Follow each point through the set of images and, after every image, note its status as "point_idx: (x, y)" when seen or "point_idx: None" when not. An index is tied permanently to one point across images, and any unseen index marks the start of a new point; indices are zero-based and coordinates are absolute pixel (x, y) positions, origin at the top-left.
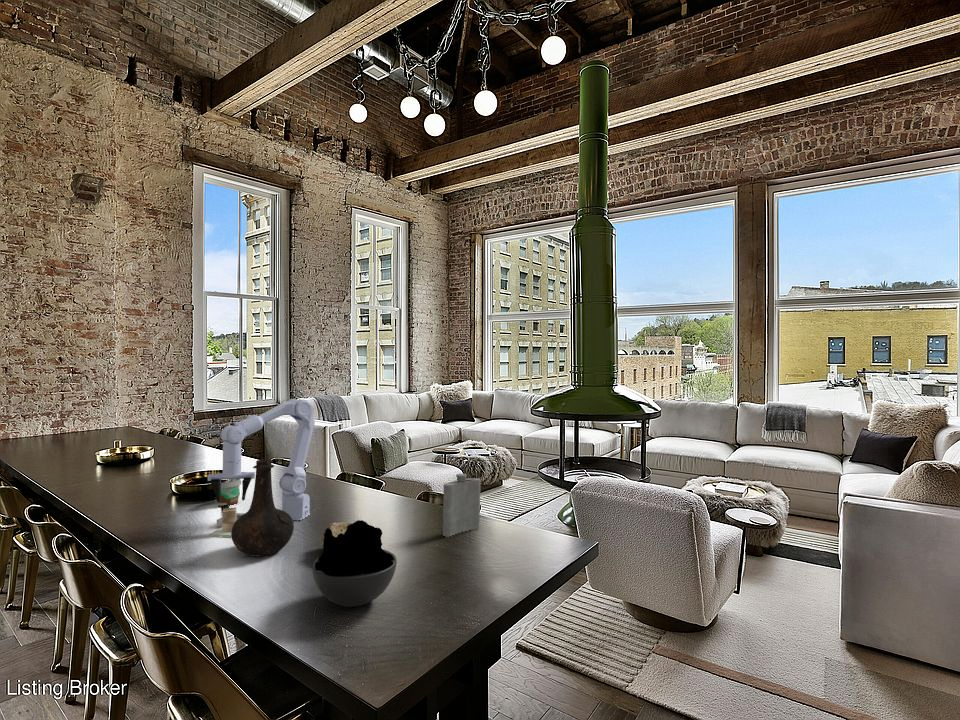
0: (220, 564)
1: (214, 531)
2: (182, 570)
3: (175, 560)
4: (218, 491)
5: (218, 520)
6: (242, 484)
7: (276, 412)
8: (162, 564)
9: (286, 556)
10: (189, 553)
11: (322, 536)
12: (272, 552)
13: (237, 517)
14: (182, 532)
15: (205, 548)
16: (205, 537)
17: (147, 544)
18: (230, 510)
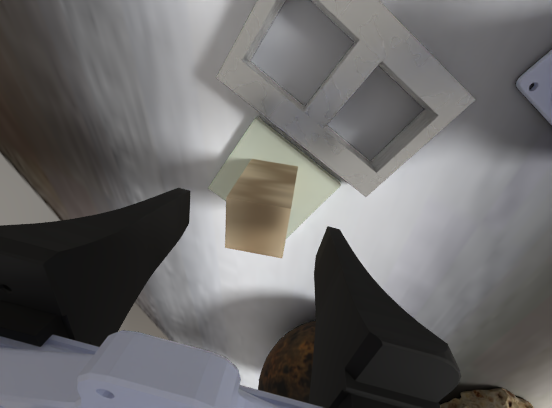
0: (248, 354)
1: (223, 172)
2: (189, 345)
3: (164, 305)
4: (144, 283)
5: (225, 84)
6: (310, 392)
7: None
8: (146, 310)
9: None
10: (183, 285)
11: None
12: None
13: (324, 9)
14: (109, 90)
15: (213, 274)
16: (201, 191)
17: (52, 175)
18: (259, 243)
